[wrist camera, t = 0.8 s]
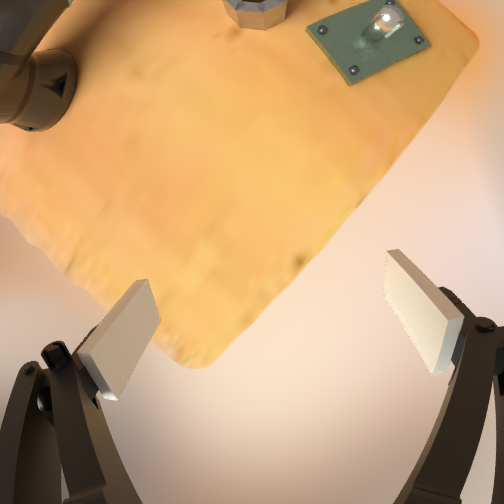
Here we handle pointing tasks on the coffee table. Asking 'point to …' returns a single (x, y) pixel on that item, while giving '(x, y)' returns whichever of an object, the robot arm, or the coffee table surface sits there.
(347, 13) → the shaft stand
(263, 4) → the ring
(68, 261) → the coffee table surface
